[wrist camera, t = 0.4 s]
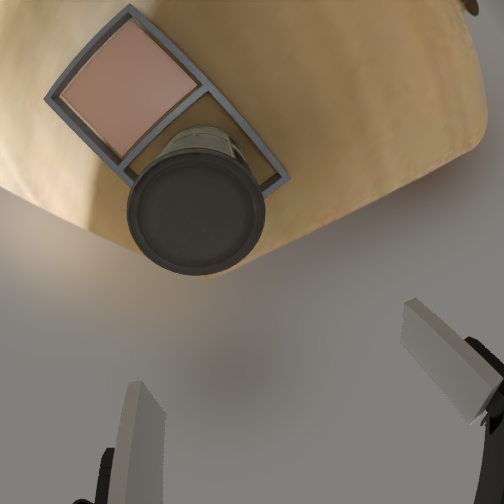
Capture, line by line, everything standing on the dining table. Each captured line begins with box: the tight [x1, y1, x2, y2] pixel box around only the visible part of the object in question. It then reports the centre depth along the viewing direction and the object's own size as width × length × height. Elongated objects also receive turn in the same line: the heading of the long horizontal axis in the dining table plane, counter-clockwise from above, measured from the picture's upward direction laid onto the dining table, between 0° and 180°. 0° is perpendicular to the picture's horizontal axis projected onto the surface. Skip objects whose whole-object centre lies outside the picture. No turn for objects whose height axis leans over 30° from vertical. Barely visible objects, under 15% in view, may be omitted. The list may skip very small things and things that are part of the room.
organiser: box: [44, 4, 291, 198], centre depth 27 cm, size 15×28×2 cm, turn 38°
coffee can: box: [127, 126, 265, 276], centre depth 26 cm, size 10×10×14 cm
